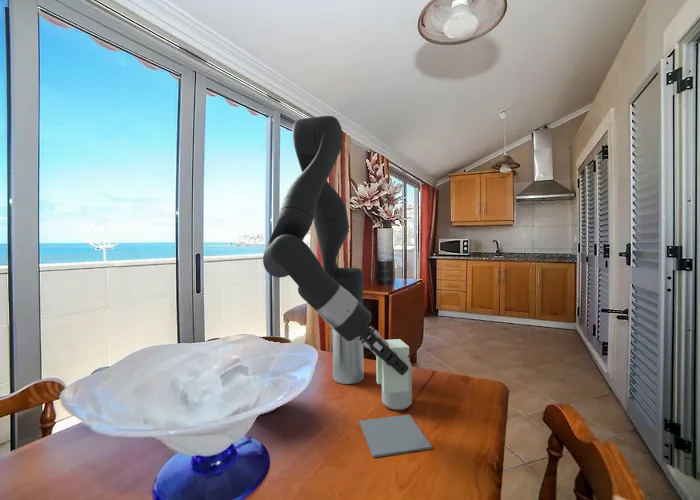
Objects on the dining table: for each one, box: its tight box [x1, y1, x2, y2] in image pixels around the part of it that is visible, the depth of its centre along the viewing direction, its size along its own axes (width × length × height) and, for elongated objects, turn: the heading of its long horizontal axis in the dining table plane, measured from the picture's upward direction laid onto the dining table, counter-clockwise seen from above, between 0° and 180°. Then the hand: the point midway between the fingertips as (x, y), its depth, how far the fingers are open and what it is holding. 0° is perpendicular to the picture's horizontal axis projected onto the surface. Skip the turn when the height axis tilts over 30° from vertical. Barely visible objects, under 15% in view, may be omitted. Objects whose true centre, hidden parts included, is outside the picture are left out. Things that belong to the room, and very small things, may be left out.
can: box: [381, 357, 413, 411], centre depth 80 cm, size 8×8×12 cm
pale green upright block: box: [375, 338, 410, 394], centre depth 67 cm, size 6×6×9 cm
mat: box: [359, 414, 433, 458], centre depth 67 cm, size 12×12×1 cm
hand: (399, 365), depth 67 cm, fingers closed on pale green upright block, 5 cm apart
